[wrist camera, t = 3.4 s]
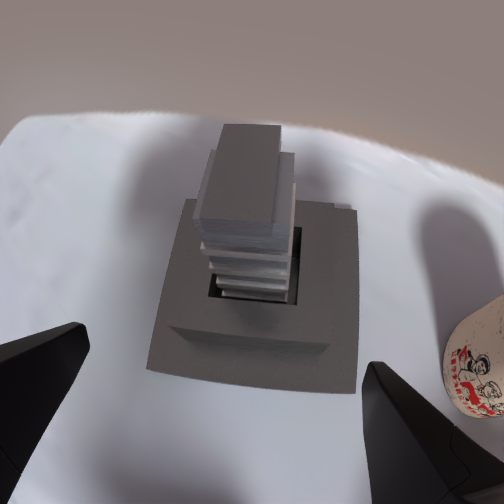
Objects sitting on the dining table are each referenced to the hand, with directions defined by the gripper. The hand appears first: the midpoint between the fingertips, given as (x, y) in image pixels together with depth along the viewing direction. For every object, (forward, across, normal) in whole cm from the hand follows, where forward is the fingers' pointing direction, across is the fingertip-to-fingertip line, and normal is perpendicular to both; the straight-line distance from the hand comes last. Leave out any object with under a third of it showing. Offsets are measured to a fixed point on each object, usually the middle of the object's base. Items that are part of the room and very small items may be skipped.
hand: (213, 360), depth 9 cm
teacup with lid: (+9, -19, +9) cm, 23 cm away
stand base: (+14, 0, +4) cm, 14 cm away
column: (+13, 0, +3) cm, 13 cm away
